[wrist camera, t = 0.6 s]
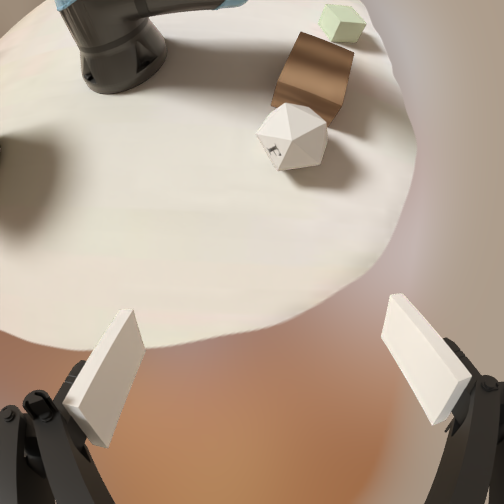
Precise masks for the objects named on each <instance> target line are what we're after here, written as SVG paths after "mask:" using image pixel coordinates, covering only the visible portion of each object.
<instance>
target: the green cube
mask: <svg viewBox="0 0 504 504" xmlns="http://www.w3.org/2000/svg"><path fill="white" fill-rule="evenodd" d="M318 25H319V26H320V28H321V29H322V30H323V32H324V33H325V34H326V36H327V37H328V38H329V40H330V41H331V42H352V43H356V42H357V40H358V38H359V37H360V35H361V33H362V31H363V30H364V28H365V26H366V23H365V21H364V20H363V19H362V18H361V17H360V16H359V14H358V13H357V12H356V11H355V10H354V9H353V8H352V7H351V6H342V5H331V4H325V7H324V9H323V12H322V15H321V17H320V20H319V22H318Z"/></svg>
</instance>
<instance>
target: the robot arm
mask: <svg viewBox="0 0 504 504" xmlns="http://www.w3.org/2000/svg"><path fill="white" fill-rule="evenodd" d="M247 1H248V0H55V3H56V6H57V10H58V11H59V12H60V14H61V16H62V18H63V20H64V22H65V23H66V25H67V27H68V29H69V31H70V33H71V35H72V37H73V38H74V40H75V42H76V44H77V46H78V48H79V49H80V58H81V70H82V76H83V79H84V80H85V82H86V84H87V85H88V87H89V88H90V89H91V90H93V91H95V92H97V93H103V94H111V93H118V92H122V91H125V90H128V89H131V88H133V87H135V86H137V85H139V84H141V83H143V82H144V81H146V80H147V79H149V78H150V77H151V76H152V75H154V74H155V73H156V72H157V71H158V70H159V68H160V67H161V66H162V64H163V63H164V61H165V59H166V55H167V48H166V43H165V40H164V37H163V36H162V34H161V33H160V32H159V31H158V29H157V28H156V27H155V26H154V24H153V23H152V22H151V21H150V19H149V17H150V16H156V15H163V14H170V13H177V12H186V11H197V10H218V9H220V8H234V7H239V6H241V5H243V4H245V3H246V2H247ZM381 338H382V340H383V341H384V343H385V344H386V346H387V348H388V349H389V351H390V352H391V354H392V356H393V357H394V359H395V361H396V362H397V364H398V366H399V368H400V369H401V371H402V372H403V374H404V376H405V378H406V379H407V381H408V383H409V385H410V386H411V388H412V390H413V392H414V394H415V395H416V397H417V399H418V401H419V403H420V404H421V406H422V408H423V410H424V412H425V414H426V415H427V417H428V419H429V421H430V423H431V425H432V426H433V425H436V424H438V423H441V422H443V421H445V420H446V419H447V418H448V416H449V414H450V413H451V412H452V413H453V415H454V418H453V419H452V421H451V422H450V424H449V425H448V427H447V428H446V430H445V432H447V431H448V430H449V428H450V430H449V434H448V438H447V442H446V445H445V448H444V452H443V455H442V458H441V462H440V464H439V467H438V471H437V473H436V476H435V479H434V481H433V484H432V487H431V489H430V492H429V494H428V496H427V499H426V501H425V503H424V504H484V503H485V500H486V496H487V492H488V488H489V504H504V382H498V381H497V380H496V379H495V378H494V377H492V376H489V375H483V376H482V375H480V373H479V372H478V370H477V369H476V368H475V367H474V365H473V364H472V363H471V362H470V361H469V359H468V358H467V357H465V354H464V353H463V352H462V351H460V348H459V347H458V346H457V345H456V344H455V343H454V342H453V341H451V340H449V339H448V338H441V337H440V335H439V334H438V333H437V332H436V331H435V329H434V328H433V327H432V326H431V325H430V324H429V322H428V321H427V320H426V319H425V318H424V317H423V316H422V315H421V313H420V312H419V311H418V310H417V309H416V308H415V307H414V306H413V304H412V303H411V302H410V301H409V300H408V299H407V298H406V297H405V296H404V295H403V294H402V293H401V294H393V295H390V298H389V303H388V308H387V313H386V318H385V322H384V327H383V331H382V335H381ZM145 351H146V350H145V347H144V344H143V341H142V338H141V334H140V331H139V328H138V324H137V321H136V318H135V314H134V310H133V309H120V310H119V312H118V313H117V315H116V316H115V318H114V319H113V321H112V322H111V324H110V325H109V327H108V328H107V330H106V331H105V333H104V334H103V336H102V337H101V339H100V341H99V342H98V344H97V345H96V347H95V348H94V350H93V352H92V353H91V355H90V357H89V358H88V360H87V361H84V360H81V361H80V362H79V363H77V364H76V365H75V366H74V367H73V368H72V370H71V372H70V373H69V376H67V378H66V380H65V383H63V385H62V386H61V388H60V390H59V391H58V393H57V395H56V396H55V398H54V400H53V401H52V399H51V398H50V396H49V395H48V393H47V392H45V391H43V390H35V391H32V392H31V393H29V394H28V395H27V396H26V397H25V399H24V401H23V408H24V409H25V410H26V412H27V413H24V414H23V413H21V411H20V410H19V409H18V407H16V406H15V405H8V406H6V407H4V408H3V409H2V410H1V411H0V504H55V500H56V503H57V504H115V502H114V501H113V499H112V497H111V495H110V493H109V492H108V490H107V488H106V486H105V484H104V482H103V481H102V478H101V477H100V474H99V472H98V470H97V468H96V466H95V464H94V461H93V459H92V457H91V455H90V452H89V450H88V448H87V446H86V445H85V440H86V438H88V439H89V441H90V442H91V443H92V444H93V445H96V446H100V447H104V448H108V447H109V444H110V442H111V439H112V436H113V433H114V430H115V428H116V425H117V422H118V419H119V417H120V414H121V411H122V409H123V406H124V403H125V401H126V398H127V396H128V393H129V391H130V388H131V386H132V383H133V381H134V378H135V375H136V373H137V371H138V368H139V366H140V364H141V361H142V359H143V356H144V354H145Z"/></svg>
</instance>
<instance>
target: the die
mask: <svg viewBox="0 0 504 504" xmlns="http://www.w3.org/2000/svg"><path fill="white" fill-rule="evenodd" d="M256 136H257V138H258V139H259V141H260V143H261V144H262V146H263V148H264V150H265V151H266V153H267V155H268V156H269V158H270V160H271V161H272V163H273V165H274V166H275V168H276V170H277V171H282V170H289V169H296V168H303V167H309V166H316V165H320V164H321V161H322V158H323V155H324V152H325V149H326V146H327V142H328V137H327V122H326V121H324V120H323V119H322V118H321V117H320V116H319V115H317V114H316V113H315V112H314V111H313V110H312V109H310V108H309V107H306V106H301V105H296V104H290V103H284V104H282V105H281V106H280V107H278V108H277V109H275V110H274V111H272V112H271V113H270V114H269V115H268V116H267V118H266V119H265V121H264V122H263V124H262V125H261V126H260V128H259V129H258V131H257V132H256Z"/></svg>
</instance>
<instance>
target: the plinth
mask: <svg viewBox="0 0 504 504" xmlns="http://www.w3.org/2000/svg"><path fill="white" fill-rule="evenodd" d="M353 56H354V52H351V51H349V50H347V49H345V48H342V47H340V46H338V45H335V44H333V43H330V42H328V41H325V40H323V39H320V38H317V37H315V36H312V35H309V34H306V33H303V32H300V34H299V36H298V38H297V40H296V42H295V44H294V46H293V49H292V51H291V53H290V55H289V57H288V59H287V61H286V63H285V66H284V68H283V70H282V72H281V74H280V76H279V79H278V81H277V84H276V88H275V92H274V95H273V99H272V103H271V106H274V107H276V108H278V107H280V106H281V105H282V104H284V103H290V104H296V105H301V106H306V107H309V108H310V109H312V110H313V111H314V112H315V113H316V114H317V115H319V116H320V117H321V118H322V119H323V120H324V121H326V122H327V127H328V126H329V125H330V123H331V122H332V120H333V119H334V117H335V116H336V114H337V113H338V111H339V110H340V108H341V107H342V104H343V100H344V96H345V91H346V87H347V83H348V79H349V74H350V70H351V65H352V61H353Z"/></svg>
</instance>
